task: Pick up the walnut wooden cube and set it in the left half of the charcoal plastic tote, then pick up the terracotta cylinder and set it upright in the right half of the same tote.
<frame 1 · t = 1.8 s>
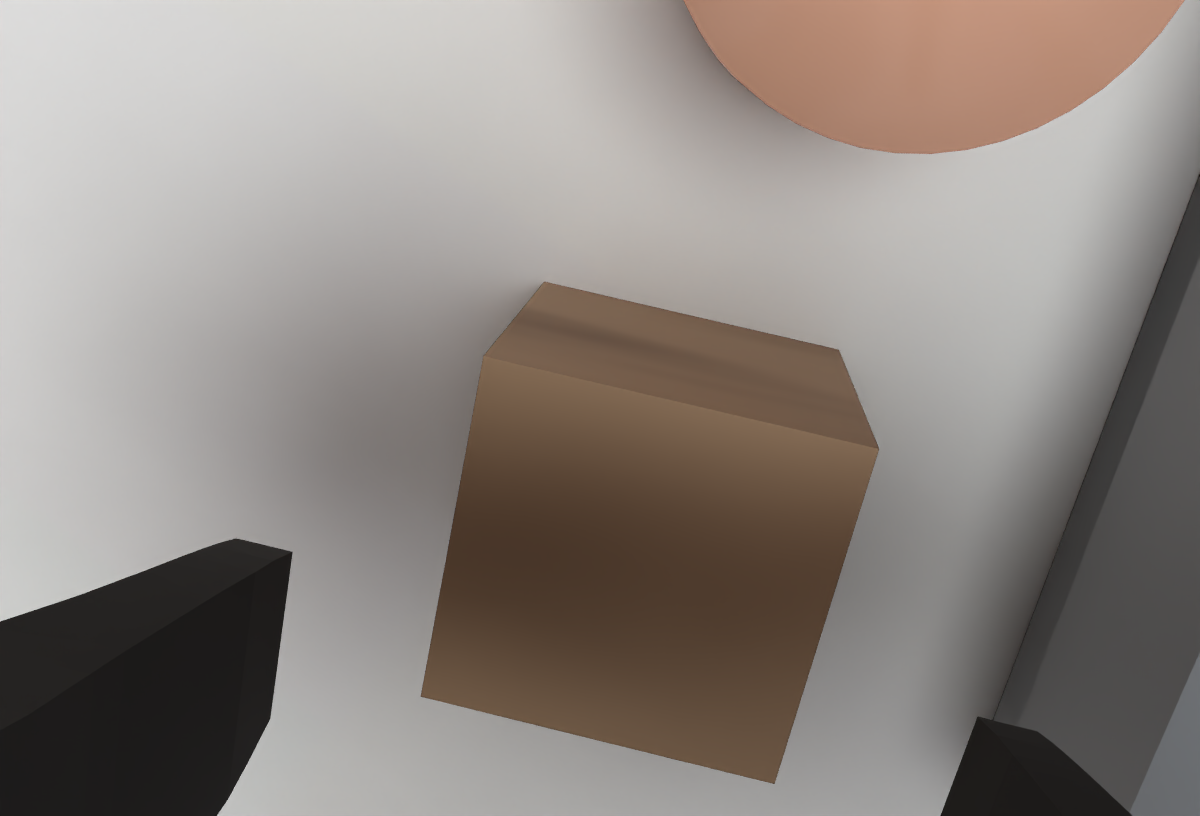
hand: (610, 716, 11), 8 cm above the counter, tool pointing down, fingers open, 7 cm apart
walnut cube: (657, 451, 19), on the counter
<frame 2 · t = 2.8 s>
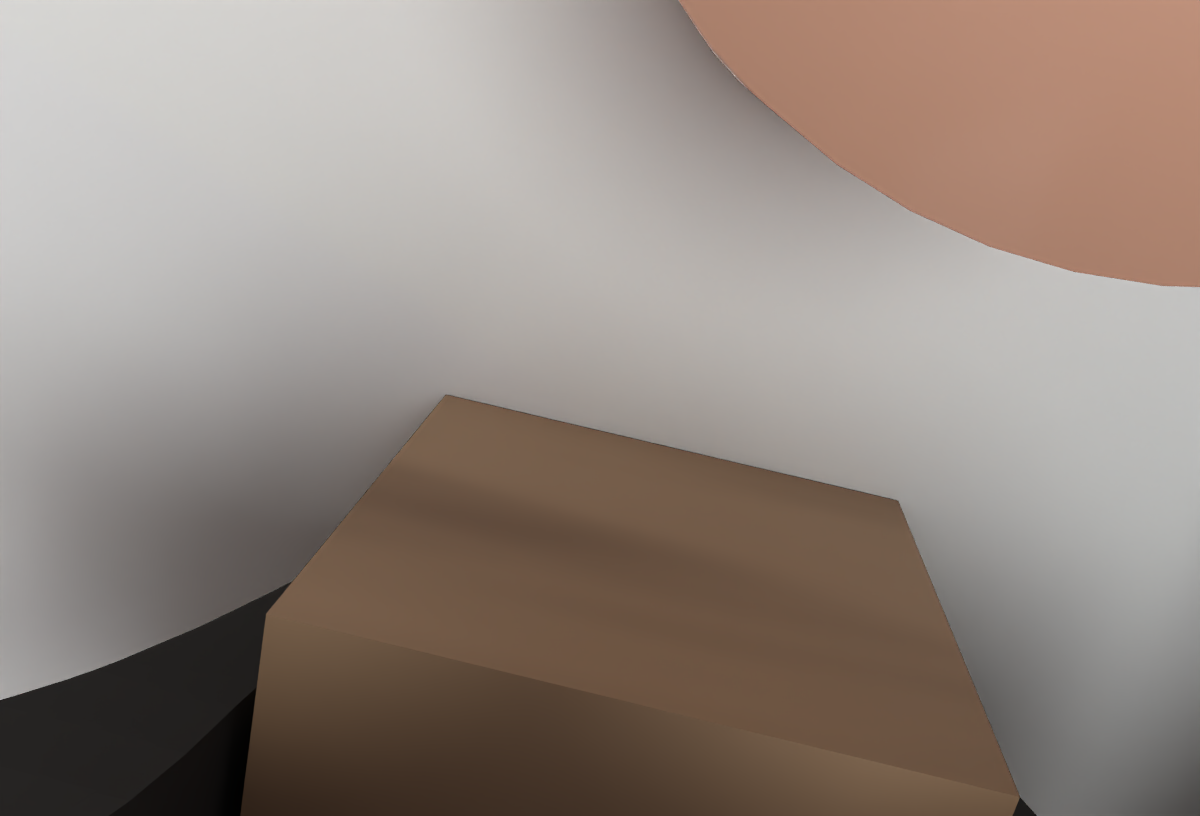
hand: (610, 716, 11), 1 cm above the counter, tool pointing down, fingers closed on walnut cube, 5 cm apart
walnut cube: (621, 646, 13), on the counter, touching gripper
when the fingers open (4 cm above the counter, at t = 7.5 s): walnut cube drops 1 cm, resting on tote.
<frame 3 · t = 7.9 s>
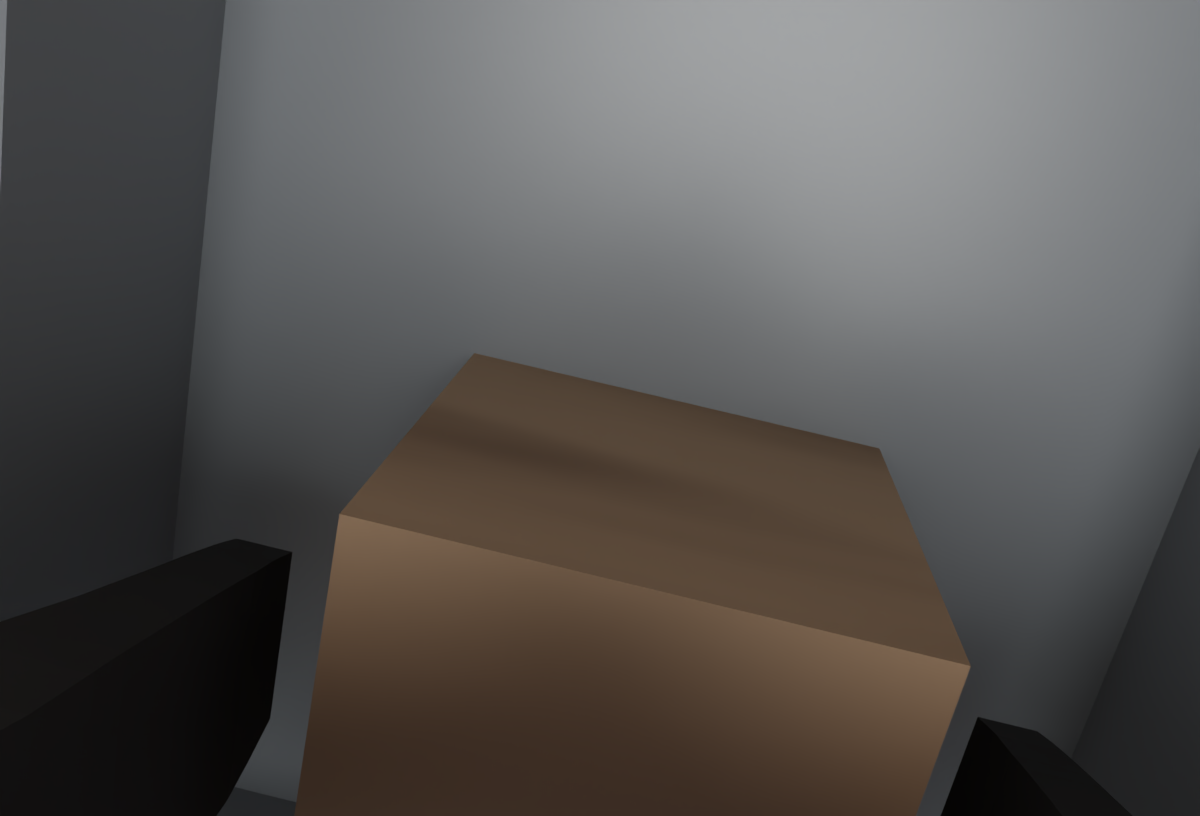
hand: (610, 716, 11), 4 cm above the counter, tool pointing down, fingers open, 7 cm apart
tote: (697, 309, 14), on the counter
walnut cube: (630, 582, 14), point 1 cm above the counter, touching tote
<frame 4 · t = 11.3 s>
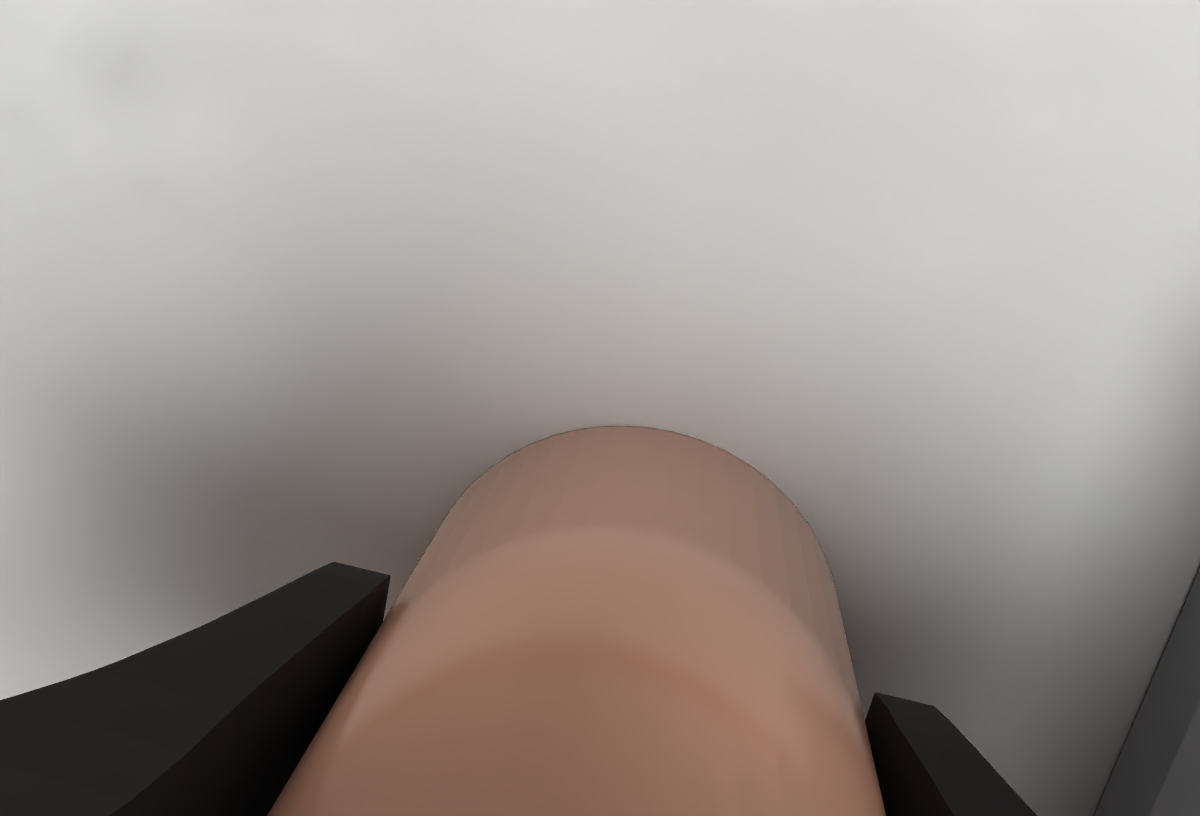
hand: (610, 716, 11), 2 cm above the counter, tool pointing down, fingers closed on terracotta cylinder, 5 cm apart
terracotta cylinder: (625, 625, 13), on the counter, touching gripper
when the fingers open (4 cm above the counter, at t = 16.0 s): terracotta cylinder stays where it is, resting on tote.
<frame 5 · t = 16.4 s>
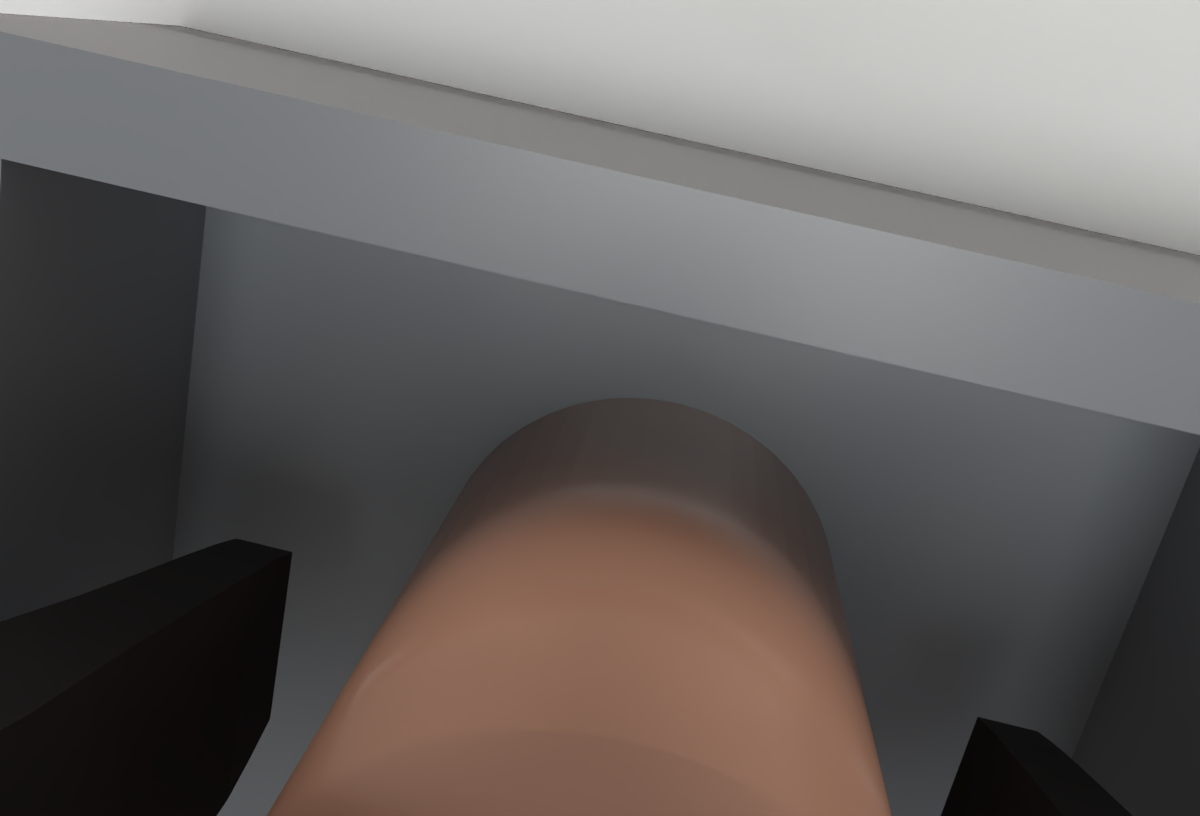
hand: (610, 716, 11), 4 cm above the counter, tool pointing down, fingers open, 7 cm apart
terracotta cylinder: (633, 585, 14), point 1 cm above the counter, touching tote
tote: (585, 766, 16), on the counter
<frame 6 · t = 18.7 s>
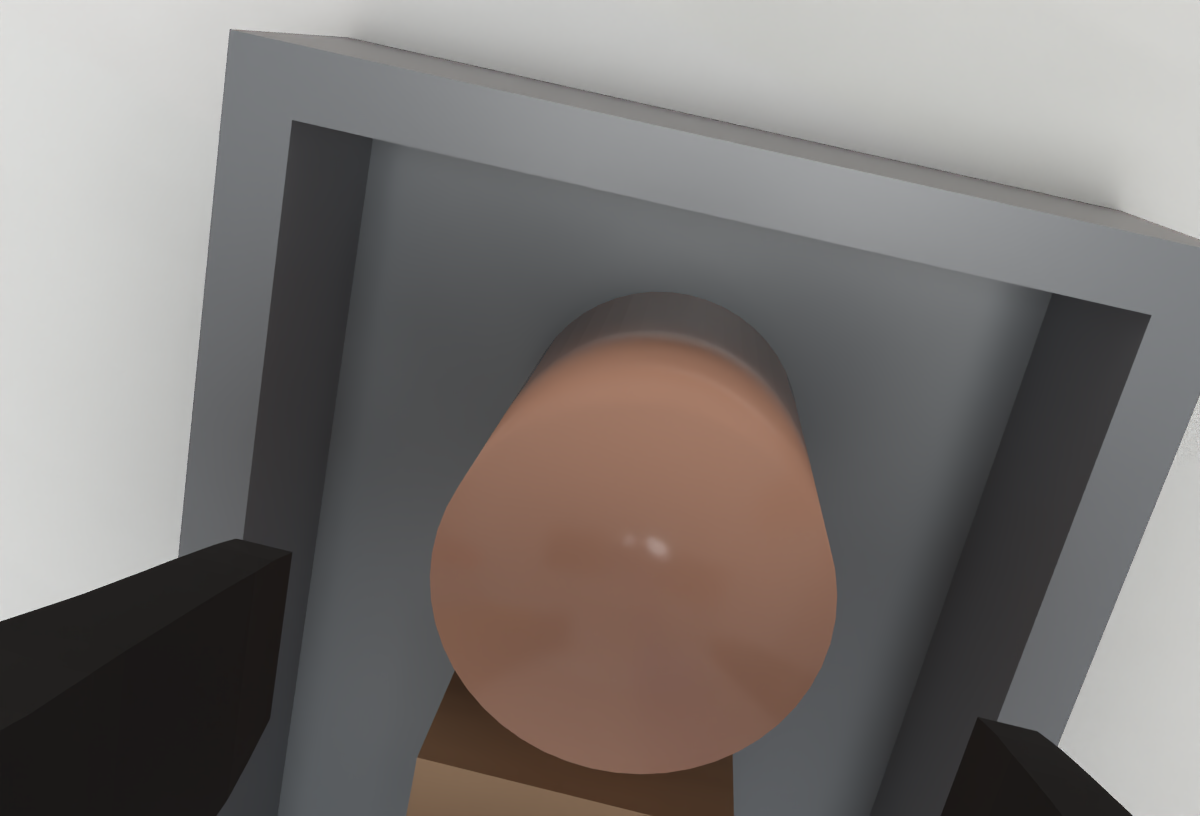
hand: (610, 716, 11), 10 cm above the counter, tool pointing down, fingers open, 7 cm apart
terracotta cylinder: (659, 426, 20), point 1 cm above the counter, touching tote
tote: (621, 571, 22), on the counter
walnut cube: (580, 741, 22), point 1 cm above the counter, touching tote
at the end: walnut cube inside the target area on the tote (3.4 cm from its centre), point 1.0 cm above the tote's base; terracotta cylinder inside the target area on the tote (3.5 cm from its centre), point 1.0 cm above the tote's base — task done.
